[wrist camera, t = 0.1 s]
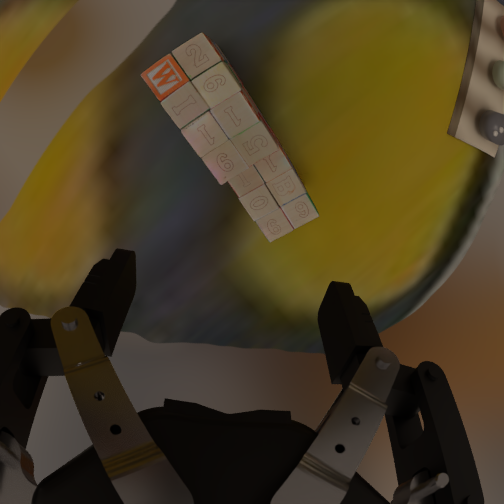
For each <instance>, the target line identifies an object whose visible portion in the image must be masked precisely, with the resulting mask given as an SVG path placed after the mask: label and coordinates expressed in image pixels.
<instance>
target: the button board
mask: <svg viewBox="0 0 504 504" xmlns="http://www.w3.org/2000/svg"><path fill="white" fill-rule="evenodd" d="M502 16H504V6H503V5H501V4H500V3H499V2H498V1H496V0H476V6H475V14H474V21H473V27H472V33H471V39H470V45H469V50H468V55H467V60H466V64H465V69H464V73H463V78H462V82H461V86H460V90H459V94H458V98H457V101H456V105H455V109H454V112H453V116H452V119H451V122H450V126H449V129H448V132H447V134H449V135H452V136H454V137H456V138H458V139H460V140H462V141H464V142H466V143H468V144H470V145H472V146H474V147H476V148H478V149H480V150H482V151H484V152H485V153H487V154H489V155H491V156H493V157H495V155H496V152H497V149H498V146H499V145H497V144H495V143H493V142H491V141H489V140H486V139H485V138H484V137H483V136H482V134H481V132H480V127H479V123H480V118H481V116H482V114H483V113H484V112H485V111H487V110H493V111H495V112H498V113H501V114H504V90H501V89H499V88H498V87H497V85H496V84H495V82H494V79H493V74H492V70H493V66H494V64H495V62H496V61H499V60H502V61H504V35H503V33H502V30H501V26H500V21H501V18H502Z"/></svg>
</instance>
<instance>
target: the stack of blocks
mask: <svg viewBox="0 0 504 504" xmlns="http://www.w3.org/2000/svg"><path fill="white" fill-rule="evenodd" d="M141 76H142V78H143V79H144V80H145V82H146V83H147V85H148V86H149V87H150V89H151V90H152V91H153V93H154V94H155V95H156V97H157V98H158V100H159V101H161V105H162V106H163V108H164V109H165V111H166V112H167V113H168V114H169V116H170V117H171V118H172V120H173V121H174V122H175V124H176V125H177V126H178V128H179V129H181V133H182V134H183V136H184V137H185V139H186V140H187V141H188V142H189V144H190V145H191V146H192V148H193V149H194V150H195V152H196V153H197V154H198V156H199V157H201V158H202V160H203V162H204V163H205V165H206V166H207V167H208V169H209V170H210V171H211V173H212V174H213V175H214V177H215V178H216V179H217V181H218V182H219V184H220V185H222V184H224V183H225V182H227V181H228V183H229V184H230V186H231V187H232V188H233V190H234V191H235V193H236V194H237V196H238V197H239V200H240V202H241V203H242V205H243V206H244V208H245V209H246V211H247V212H248V213H249V215H250V216H251V218H252V219H253V221H255V222H256V223H257V225H258V226H259V228H260V229H261V231H262V232H263V234H264V235H265V237H266V238H267V239H268V241H269V242H271V241H273V240H275V239H277V238H279V237H281V236H283V235H285V234H287V233H289V232H291V231H293V230H294V229H295V228H297V227H299V226H301V225H303V224H305V223H307V222H309V221H311V220H313V219H315V218H317V217H318V216H319V214H318V212H317V209H316V207H315V205H314V203H313V202H312V200H311V198H310V196H309V194H308V193H307V191H306V189H305V187H304V185H303V183H302V181H301V180H300V178H299V176H298V174H297V172H296V170H295V168H294V166H293V165H292V163H291V161H290V159H289V158H288V156H287V154H286V153H285V151H284V149H283V148H282V146H281V144H280V142H279V141H278V139H277V137H276V136H275V134H274V132H273V131H272V129H271V127H270V126H269V125H268V124H267V122H266V120H265V119H264V117H263V115H262V114H261V112H260V110H259V109H258V107H257V106H256V104H255V103H254V101H253V100H252V98H251V97H250V95H249V93H248V92H247V90H246V89H245V87H244V86H243V83H242V82H241V80H240V78H239V77H238V75H237V74H236V72H235V71H234V69H233V68H232V66H231V65H230V63H229V61H228V60H227V58H226V57H225V55H224V54H223V52H222V51H221V49H220V48H219V46H218V45H217V44H216V43H215V42H213V41H212V40H211V39H210V38H209V37H208V36H206V35H205V34H204V33H200V34H198V35H197V36H195V37H194V38H192V39H190V40H189V41H187V42H186V43H184V44H182V45H181V46H179V47H178V48H176V49H175V50H173V51H172V53H171V54H168V55H166V56H165V57H163V58H162V59H161V60H159V61H158V62H156V63H155V64H154V65H152V66H151V67H150V68H148V69H147V70H146V71H144V72H143V73H142V74H141Z"/></svg>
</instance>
